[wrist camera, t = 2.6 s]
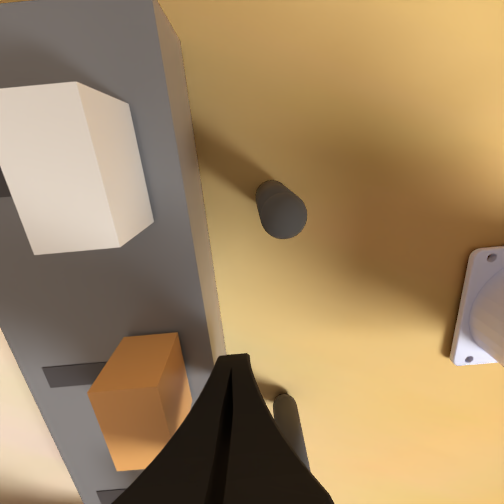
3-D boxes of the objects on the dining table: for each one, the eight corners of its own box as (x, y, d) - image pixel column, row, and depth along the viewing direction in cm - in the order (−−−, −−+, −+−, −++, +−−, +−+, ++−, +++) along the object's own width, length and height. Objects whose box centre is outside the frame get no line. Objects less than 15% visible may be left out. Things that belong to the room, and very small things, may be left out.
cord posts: (284, 177, 14) (311, 193, 8) (295, 405, 19) (316, 508, 14) (253, 180, 14) (259, 198, 8) (272, 406, 19) (284, 511, 14)
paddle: (128, 103, 9) (76, 81, 6) (153, 221, 10) (120, 247, 8) (56, 110, 9) (-29, 91, 6) (91, 227, 10) (33, 255, 8)
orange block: (177, 332, 12) (157, 386, 9) (192, 400, 13) (178, 466, 11) (123, 337, 12) (86, 392, 9) (143, 404, 13) (117, 471, 11)
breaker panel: (179, 40, 12) (149, -12, 8) (243, 469, 21) (242, 537, 18) (-24, 60, 12) (-148, 17, 8) (129, 478, 22) (104, 548, 18)
